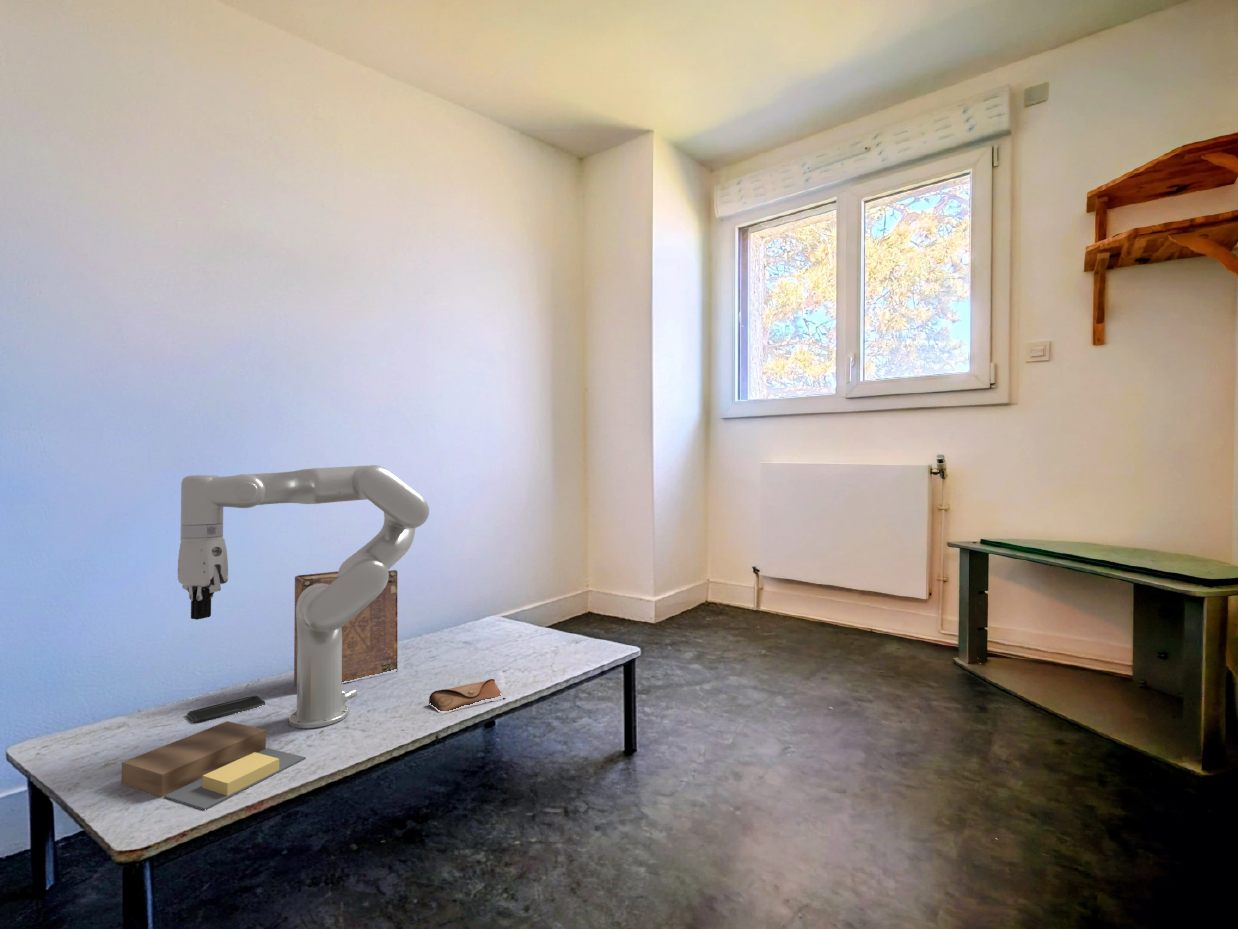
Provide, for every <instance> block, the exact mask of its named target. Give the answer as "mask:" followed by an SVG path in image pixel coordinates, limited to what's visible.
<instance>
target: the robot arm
mask: <svg viewBox="0 0 1238 929" xmlns="http://www.w3.org/2000/svg"><path fill="white" fill-rule="evenodd" d="M180 484H181V485H180V539H179V540H180V544H179V550H178V559H177V580H178V583H180V584H182V589H183V590H185V591H187V592H188V598H189V600H190V619H192V620H195V621H196V620H203V619H207V618H210V617H211V616H212V599H213V598H214V594H215V593H217V592H220V591H221V590H222V587H221V585H223V584H224V585H225V584H226V583H227V582H228V580H229V559H228V550H227V549H228V548H227V545H226V540H225V538H224V508H235V509H250V508H253V507H256V506H261V505H262V506H263V505H275V504H277V505H278V504H300V505H301V504H302V505H319V504H330V503H342V502H352V501H364V500H368V501H370V502H371V503H372V505H374V506H375V507H377V508H379V509H380V510H381V511H382V512H383V516H384V518H383V525H382V527H381V529H380V531H379V532H378V533H377V534H376V535H375V536H373V538H371V540H370V541H369V542H367V543H365V545H363V546H361V548H360V549H358V550H357V551H356V552H354V553H353V554H352V555H351V556H349V557H348V558H346V559H345V560H344V561H343V562H342V563H341V565H340V566H339V568H338V570H337V571H338V578H337V579H336V580H335V581H334V582H333V583H331V584H330V585H328V584H323V583H320V584H314V585H312V586H310V587H308V588H306V589H305V590H304V591H303V592H302V593H301V595H300V596H299V598H298V601H297V606H296V618H297V633H298V654H297V685H296V711H294V712H293V713H291V714H290V716H289V717H288V720H289V721H288V722H289V725H290V726H291V727H294V728H297V729H314V728H315V729H316V728H320V727H322V728H323V727H326V726H331V725H333V724H336V723H338V722H340V721H342V720H343V719H345V718H346V717H347V716H348V715H349V707H348V706H347V705H346V703H347V702H348V700H351V699H354V698H356V697H357V696H358V691H357V690H356V689H355V688H354V689H351V690H349V691H346V692H345V691H344V690H343V688H342V687H343V686H342V685H343V684H342V626H344V625H345V624H346V623H348V622H349V621H350V620H351V619H352V618H354V617H355V616H356V615H357V614H358V613H359V612H361V611H362V610H363V609H364V608H365V607H366V606H367V605H369V604H370V603H371V602H372V601H373V600H374V599H375V598H376V597H378V596H379V595H380V593H381V592H382V591H383V590H384V588H385V587H386V585H387V582H388V578H389V573H388V570H389V571H390V569H391V568H392V567H393V566H394V565H395V564H397V563H398V562H399V561H400V560H401V559H402V557H404V556H405V555H406V554H407V552H408V551H409V550H410V549H411V546H412V544H413V542H414V539H415V534H416V529H417V528H419V527H421V526H422V525H424V524H425V523H426V522H427V520H428V518H429V517H430V516H429V515H430V507H429V504H428V502H427V501H426V499H425V498H424V497H423V496H422V495H420V494H419V493H418V492H417V491H416V490H414V489H413V488H412V487H410V486H409V485H408V484H407V483H405V482H404V481H402V480H401V479H400V478H399V477H398V476H396V475H395V474H393V472H391V471H389V469H386V467H384V466H381V465H373V464H372V465H370V464H369V465H355V466H354V465H352V466H351V465H350V466H333V467H315V468H314V467H313V468H304V469H299V470H293V471H292V470H291V471H284V472H283V471H282V472H269V473H268V472H267V473H265V472H263V473H248V474H247V473H246V474H245V473H242V474H236V475H235V474H234V475H227V476H226V475H225V476H219V475H214V474H213V475H210V474H209V475H208V474H207V475H206V474H204V475H203V474H200V475H199V474H197V475H191V474H190V475H187V476H185V477H183V478H182V479H181V483H180Z"/></svg>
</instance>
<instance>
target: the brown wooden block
mask: <svg viewBox="0 0 1238 929" xmlns="http://www.w3.org/2000/svg"><path fill="white" fill-rule="evenodd" d="M266 748H267V729H264V728H259V727H255V726H250V725H246V724H241V723H237V722H234V721H229V720H226V721H224V722H221V723H219V724H217V725H214V726H211V727H209V728H206V729H204V730H202V731H201V730H200V731H198V732H196V733H193V734H191V735H187V736H186V737H184V738H180V739H179V740H174V741H173V742H170V743H168V744H165V745H162V746H160V747H157V748H154V749H152V750H149V751H146V752H145V753H142V754H139V755H136V756H134V757H132V758H129V759H126V760H124V761H122V762H121V770H120V772H121V774H120V775H121V780H120V785H123V786H127V787H131V788H133V789H136V790H138V791H139V790H140V791H142V792H146V793H149V794H152V795H155V796H158V797H161V798H164V796H165V795H167V794H169V793H171V792H173V791H175V790H178V789H180V788H182V787H184V786H186V785H188V784H191V783H193V782H195V781H197V780H199V779H201V778H203V775H205V774H207V773H209V772H212V771H214V770H216V769H218V768H221V767H223V766H225V765H227V764H230V763H232V762H234V761H236V760H239V759H241V758H243V757H245V756H247V755H250V754H252V753H254V752H256V753H258V752H260V751H262V750H264V749H266Z"/></svg>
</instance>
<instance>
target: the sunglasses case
mask: <svg viewBox="0 0 1238 929" xmlns="http://www.w3.org/2000/svg"><path fill="white" fill-rule="evenodd" d="M500 693H501V694H502V692H501V690H500V688H499V687H498V685H497V683H496V682H495V679H494V678H490V679H487V680H483V681H480V682H479V681H478V682H473V683H470V684H465V685H460V686H454V687H451V688H446V689H438V690H434V691H433V692H431V693H430V694H429V698H428V704H430V703H431V705H433V706H434V707H436V708H437V709H438V710H440V711H449V710H453V709H456V708H459V707H461V706H464V705H470V704H473V703H475V702H479V701H481V700H485V699H491V698H495V697H498V696H501V695H500Z"/></svg>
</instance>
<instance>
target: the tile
mask: <svg viewBox="0 0 1238 929" xmlns="http://www.w3.org/2000/svg"><path fill="white" fill-rule="evenodd" d="M278 770H279V759H278V758H275V757H271V756H267V755H264V754H260V753H256V752H254V753H252V754H250V755H247V756H245V757H243V758H241V759H239V760H236V761H234V762H232V763H230V764H227V765H225V766H223V767H221V768H218V769H216V770H214V771H212V772H209V773H207V774H205V775H203V783H202V788H205V789H208V790H211V791H214V792H217V793H220V794H224V795H227V796H228V795H230V794H232V793H234V792H236V791H238V790H240V789H242V788H244V787H246V786H248V785H250V784H252V783H254V782H256V781H258V780H260V779H262V778H264V777H266V776H268V775H270V774H272V773H274V772H276V771H278Z"/></svg>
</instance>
